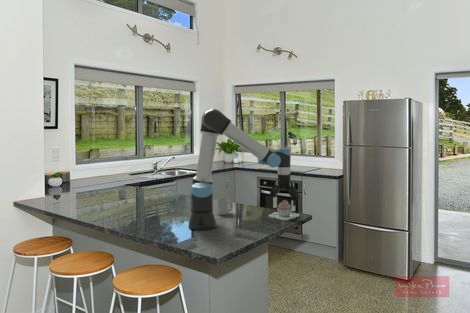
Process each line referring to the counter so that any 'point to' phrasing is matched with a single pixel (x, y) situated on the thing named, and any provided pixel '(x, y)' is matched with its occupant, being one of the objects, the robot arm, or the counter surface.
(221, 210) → the cup
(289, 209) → the cupcake
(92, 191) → the counter surface
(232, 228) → the counter surface
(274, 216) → the pale green scalloped tray
